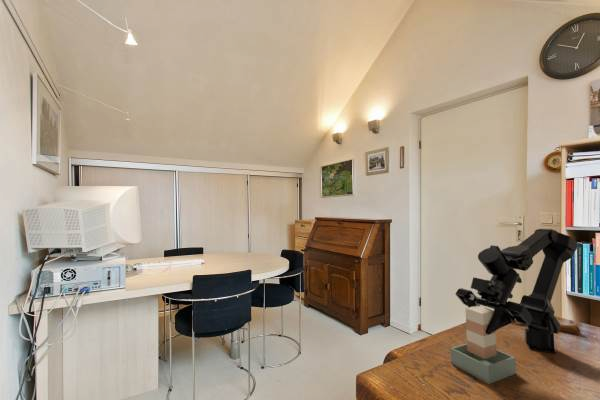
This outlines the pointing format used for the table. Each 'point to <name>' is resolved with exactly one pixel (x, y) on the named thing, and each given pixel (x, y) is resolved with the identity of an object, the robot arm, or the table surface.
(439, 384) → the table surface
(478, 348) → the tile stack
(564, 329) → the primitive tool
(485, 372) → the box
